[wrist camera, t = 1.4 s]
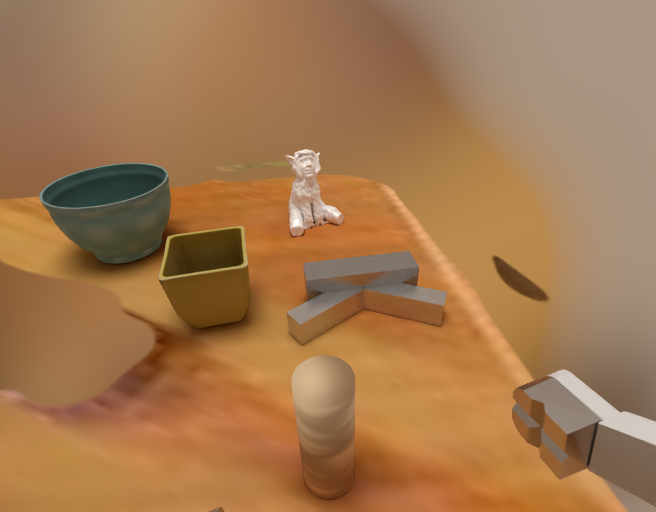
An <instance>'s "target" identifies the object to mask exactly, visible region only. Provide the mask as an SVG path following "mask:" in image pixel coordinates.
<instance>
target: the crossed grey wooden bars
mask: <svg viewBox="0 0 656 512" xmlns="http://www.w3.org/2000/svg"><path fill="white" fill-rule="evenodd" d="M303 265H304V277H305V289H306V299H307V302H305V303H304V304H302V305H300V306H298V307H296V308H294V309H292V310H290V311H288V312H287V319H288V327H289V333H290V334H291V335H292V336H293V337H294V338H295V339H296V340H297V341H298V342H299V343H300V344H301V345H303V344H305V343H307V342H308V341H310V340H312V339H313V338H315V337H317V336H319V335H320V334H322V333H324V332H325V331H327V330H329V329H330V328H332V327H334V326H335V325H337V324H339V323H340V322H342V321H344V320H346V319H347V318H349V317H351V316H352V315H354V314H356V313H357V312H359V311H361V310H362V309H366V310H371V311H375V312H379V313H384V314H388V315H393V316H397V317H402V318H406V319H411V320H415V321H419V322H424V323H428V324H433V325H437V326H441V322H442V317H443V312H444V307H445V301H446V295H447V292H444V291H439V290H434V289H429V288H424V287H419V286H417V280H418V272H419V266H418V265H417V263H416V261H415V260H414V258H413V257H412V255H411V253H410V252H409V251H405V252H396V253H388V254H379V255H370V256H361V257H353V258H344V259H335V260H326V261H318V262H309V263H303Z"/></svg>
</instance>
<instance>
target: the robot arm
mask: <svg viewBox="0 0 656 512" xmlns="http://www.w3.org/2000/svg"><path fill="white" fill-rule="evenodd" d="M513 399H514V400H515V401H516V402H517V403H516V404H515V406H514V407H513V409H512V418H513V421H514V424H515V426H516V428H517V430H518V431H519V433H520V435H521V436H522V437H523V438H524V439H525V441H526V442H527V443H529V444H531V445H533V446H536V447H538V448H539V454H540V458H541V459H542V460H543V461H544V462H545V464H546V465H547V466H548V467H549V468H550V469H551V470H552V472H553V473H554V474H555V475H556V476H557V477H558V478H559V480H560V479H563V478H565V477H567V476H570V475H572V474H575V473H577V472H579V471H582V470H584V469H587V468H588V470H589V471H591V472H593V473H595V474H596V475H598V476H600V477H602V478H604V479H606V480H607V481H609V482H611V483H613V484H615V485H617V486H618V487H620V488H622V489H624V490H626V491H628V492H629V493H631V494H633V495H635V496H637V497H639V498H641V499H642V500H644V501H646V502H648V503H650V504H652V505H654V506H655V507H656V422H655V421H652V420H649V419H646V418H643V417H641V416H638V415H635V414H632V413H629V412H626V411H624V412H621V413H620V412H619V411H617V410H616V409H615V408H614V407H612V406H611V405H610V404H609V403H607V402H606V401H605V400H604V399H603V398H601V397H600V396H599V395H598V394H596V393H595V392H594V391H593V390H592V389H590V388H589V387H588V386H587V385H585V384H584V383H583V382H582V381H581V380H579V379H578V378H577V377H576V376H574V375H573V374H572V373H571V372H569V371H567V370H559V371H557V372H554V373H552V374H550V375H548V376H544V377H541V378H539V379H536V380H534V381H532V382H529V383H527V384H525V385H522V386H520V387H518V388H516V389H515V390H514V391H513ZM209 512H224V510H223V508H222V507H219V508H216V509H214V510H211V511H209Z"/></svg>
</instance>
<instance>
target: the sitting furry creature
mask: <svg viewBox="0 0 656 512" xmlns="http://www.w3.org/2000/svg"><path fill="white" fill-rule="evenodd" d="M319 154H320V153H317V154H315V152H314V151H310V150H307V149H304V150H301V151H298V152H296V153H295V155H294V157H292V156H285V159H286V160H287V162H288V163H289V164H291V165H292V171H293V173H294V174H295V175H296V176H297V178H296V179H295V181H294V182H293V184H292V185H293V186H292V188H291V189H292V192H291V194H292V195H291V197H290V201H289V204H288V205H289V209H288V210H289V215H290V217H289V223H290V225H289V228H290V232H291V234H292V235H293V236H298V237H299V236H300V235H302V234H303V231H304V230H305V229H308V228H310V227H312V228H313V226H314V225H317V226H319V224H321V225H323V224H326V223H329V222H331V223H334V224H336V225H340V224H342V222H343V219H344V216H343V214H342V213H340V212H339V211H338V210H337V209H336V208H335V207H332V206H327V205H326V204H325V203H324V202H323V201H322V200H321V199H320V197H321V195H320V192H321V190H320V189H319V184H318V183H317V182H318V180H317V179H316V177H317V174H318V172H319V171H320V170H321V167H320V164H319V157H318V155H319ZM314 221H315V224H314V223H313V222H314ZM324 221H326V222H324Z"/></svg>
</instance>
